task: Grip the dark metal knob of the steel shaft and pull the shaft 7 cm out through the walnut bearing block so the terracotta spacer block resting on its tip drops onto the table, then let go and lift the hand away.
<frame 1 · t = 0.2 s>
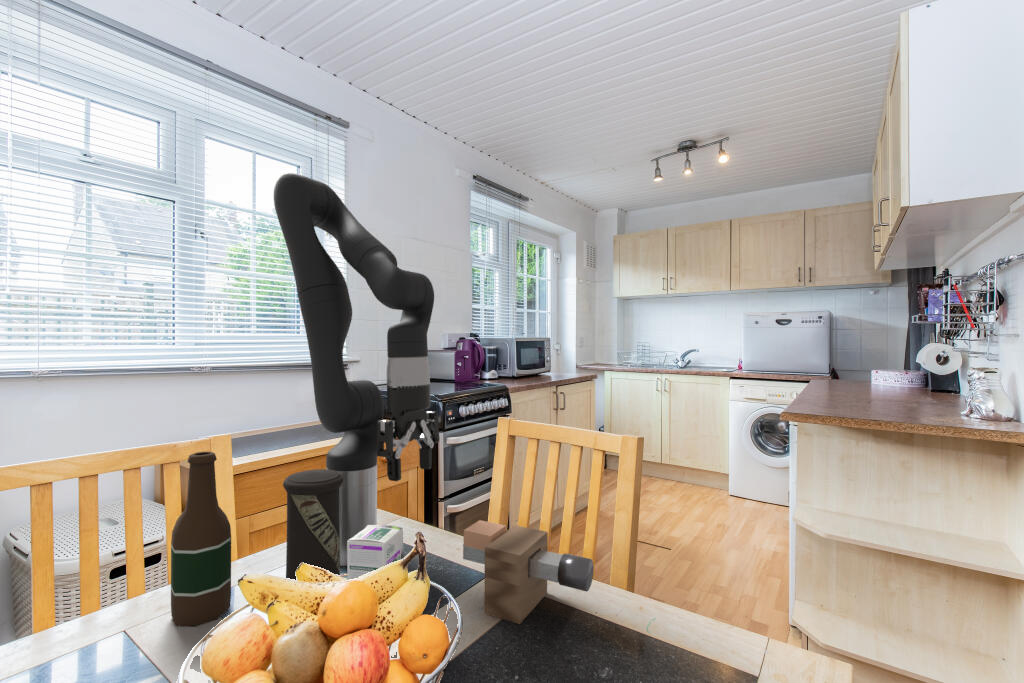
hand: (410, 474, 87), 17 cm above the table, tool pointing down, fingers open, 8 cm apart
spacer: (484, 543, 80), point 8 cm above the table, touching shaft
syrup box: (376, 637, 68), on the table
container: (313, 599, 78), on the table
bearing block: (516, 602, 77), on the table
beer bottle: (201, 614, 73), on the table
shaft: (525, 560, 76), point 7 cm above the table, slide at 0.0 cm, touching spacer
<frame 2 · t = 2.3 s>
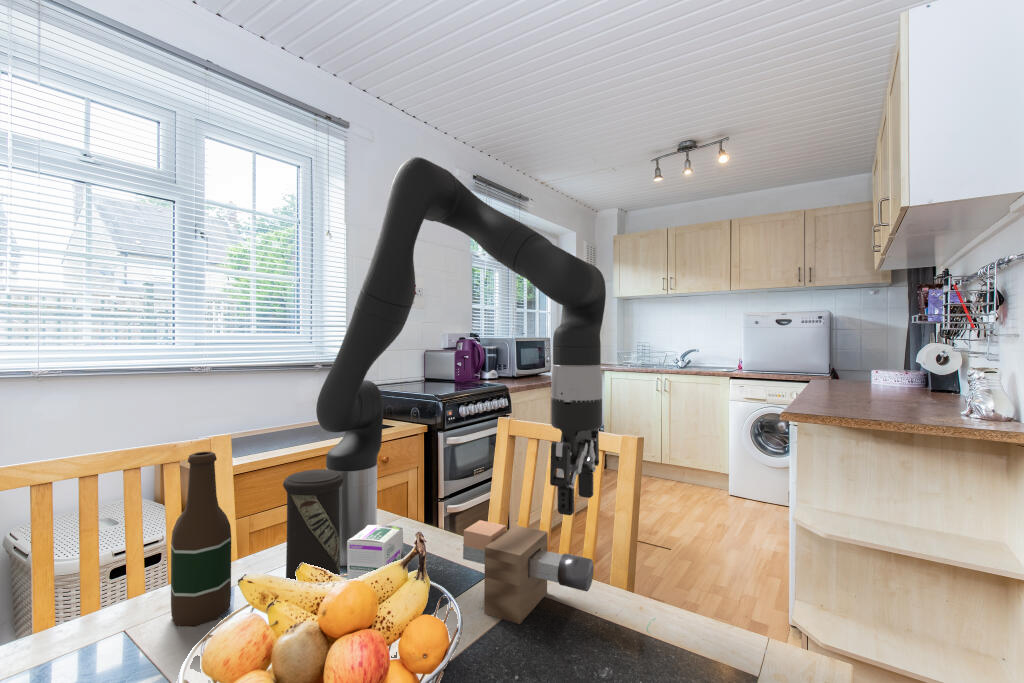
hand: (576, 504, 72), 17 cm above the table, tool pointing down, fingers open, 8 cm apart
nothing on the table moved.
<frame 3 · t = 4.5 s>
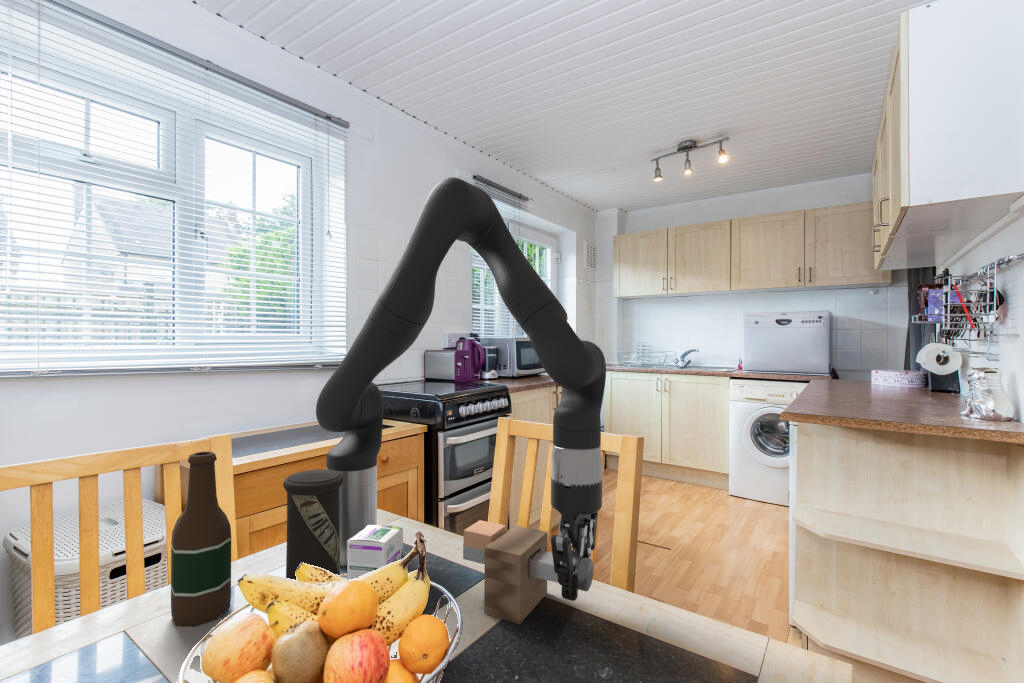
hand: (575, 590, 72), 4 cm above the table, tool pointing down, fingers closed on shaft, 4 cm apart
shaft: (525, 560, 76), point 7 cm above the table, slide at 0.0 cm, touching gripper, spacer
everything else where it was.
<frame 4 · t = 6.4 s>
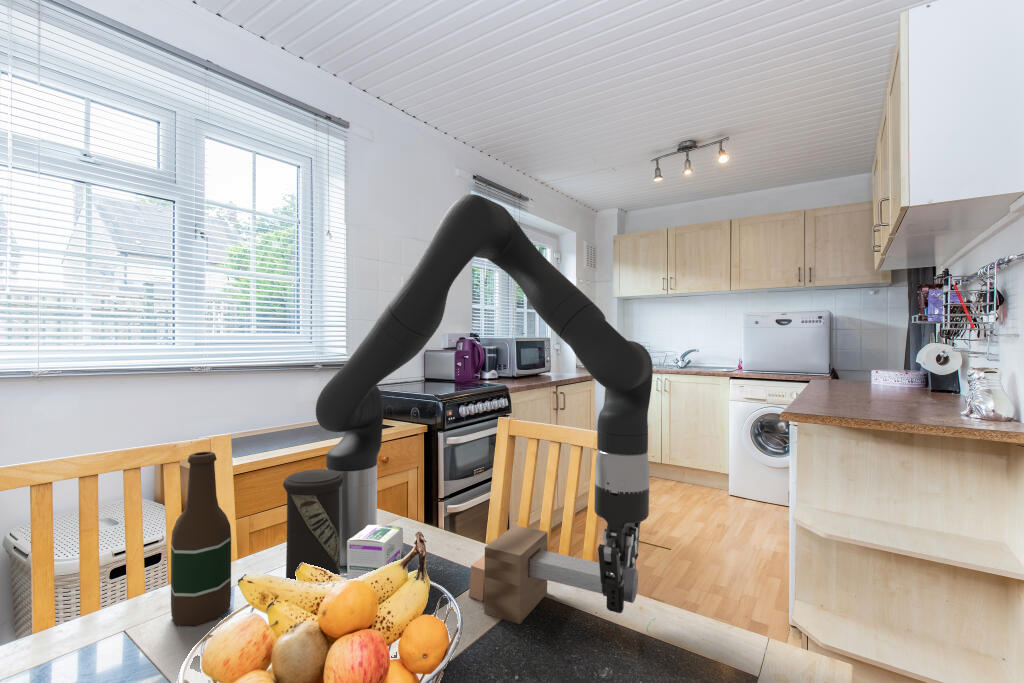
hand: (619, 601, 69), 4 cm above the table, tool pointing down, fingers closed on shaft, 4 cm apart
spacer: (490, 578, 80), point 2 cm above the table, tilted 86°
shaft: (565, 569, 73), point 7 cm above the table, slide at 6.6 cm, touching gripper
everything else where it was.
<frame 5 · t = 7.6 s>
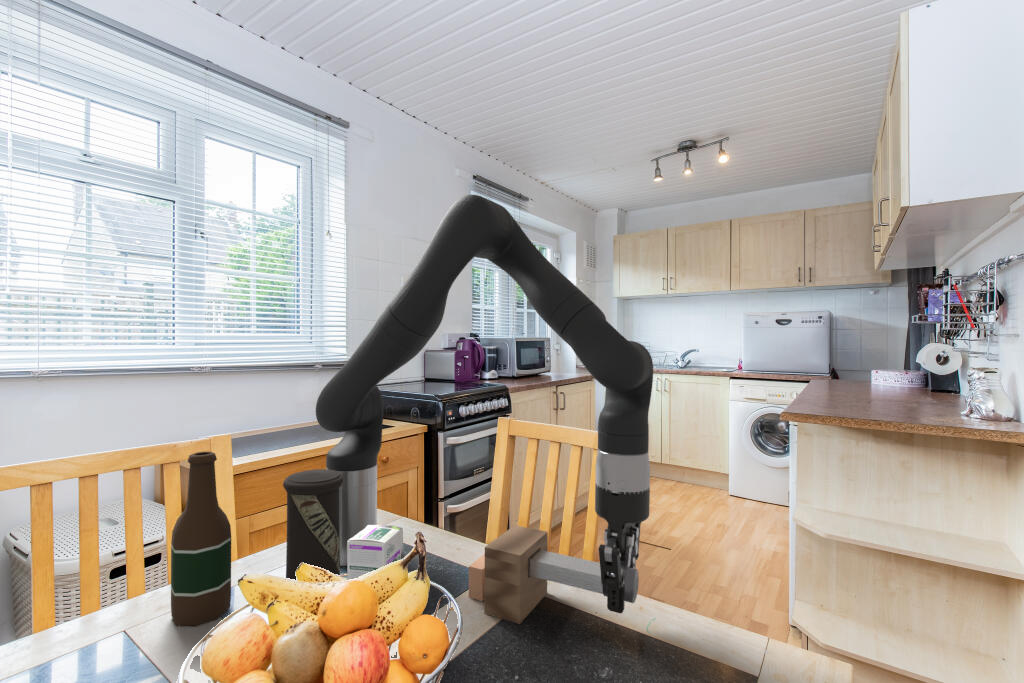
hand: (620, 601, 69), 4 cm above the table, tool pointing down, fingers closed on shaft, 4 cm apart
shaft: (566, 569, 73), point 7 cm above the table, slide at 6.7 cm, touching gripper
everything else where it was.
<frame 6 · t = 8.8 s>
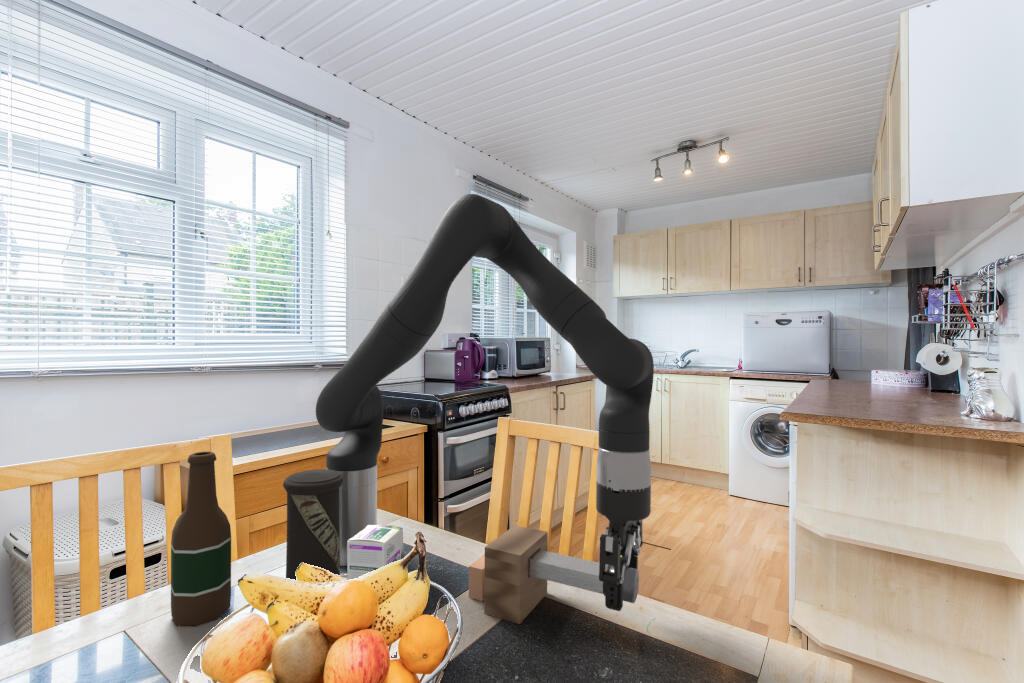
hand: (622, 593, 69), 5 cm above the table, tool pointing down, fingers open, 8 cm apart
shaft: (566, 569, 73), point 7 cm above the table, slide at 6.8 cm
everything else where it was.
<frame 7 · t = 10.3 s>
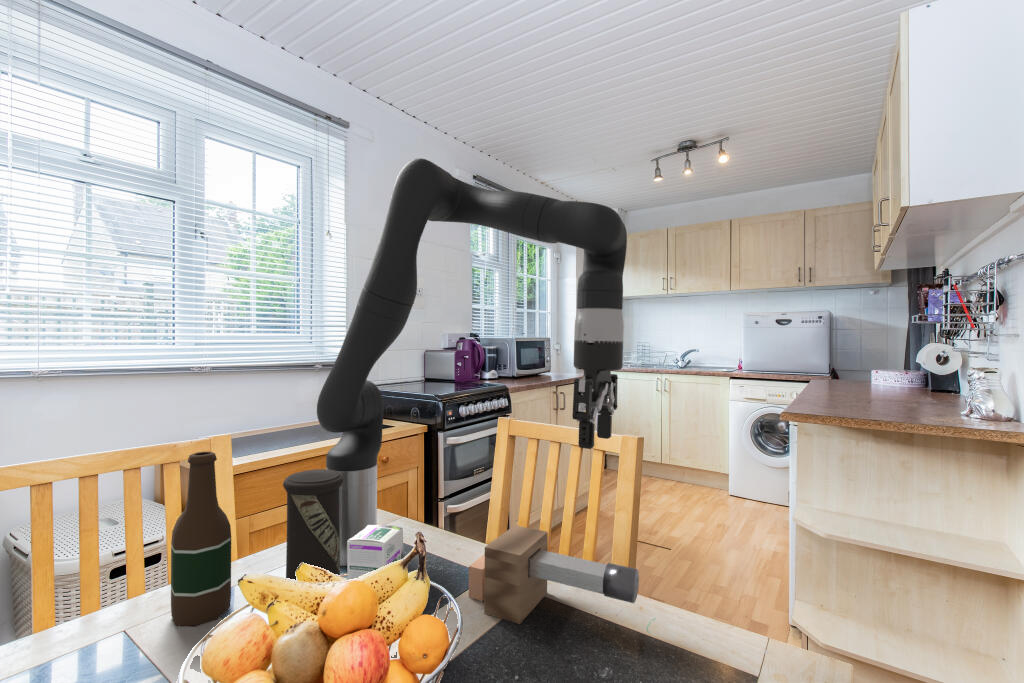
hand: (595, 442, 76), 25 cm above the table, tool pointing down, fingers open, 8 cm apart
nothing on the table moved.
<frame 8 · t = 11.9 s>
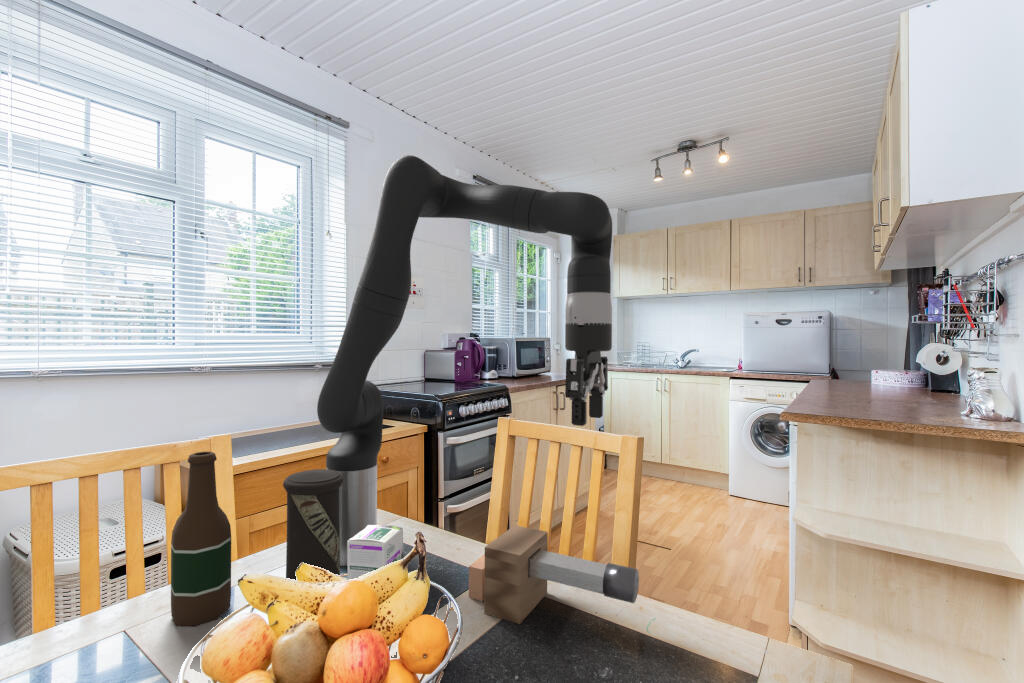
hand: (587, 421, 80), 28 cm above the table, tool pointing down, fingers open, 8 cm apart
nothing on the table moved.
at the end: shaft slide at 6.8 cm; spacer point 2.4 cm above the table; spacer touching table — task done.
